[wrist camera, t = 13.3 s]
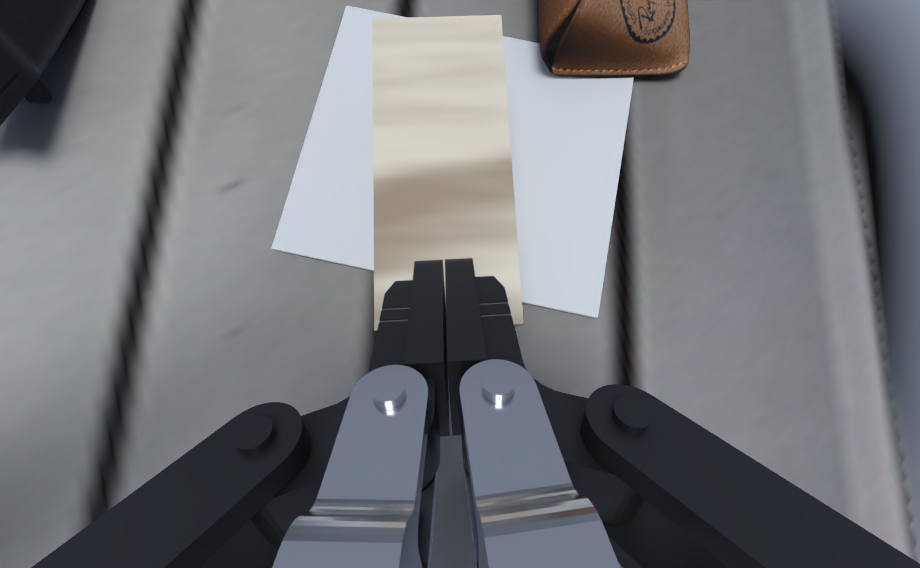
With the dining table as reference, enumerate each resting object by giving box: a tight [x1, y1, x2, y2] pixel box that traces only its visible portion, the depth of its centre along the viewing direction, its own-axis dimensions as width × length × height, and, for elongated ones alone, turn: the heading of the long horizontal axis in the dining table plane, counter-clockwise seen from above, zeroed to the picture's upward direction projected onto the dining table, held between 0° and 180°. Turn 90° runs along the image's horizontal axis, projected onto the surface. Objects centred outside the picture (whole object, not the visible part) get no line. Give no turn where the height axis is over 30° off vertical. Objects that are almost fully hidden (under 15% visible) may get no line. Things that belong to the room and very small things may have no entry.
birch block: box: [373, 15, 524, 331], centre depth 16 cm, size 5×5×12 cm
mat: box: [271, 6, 634, 318], centre depth 19 cm, size 14×16×1 cm
